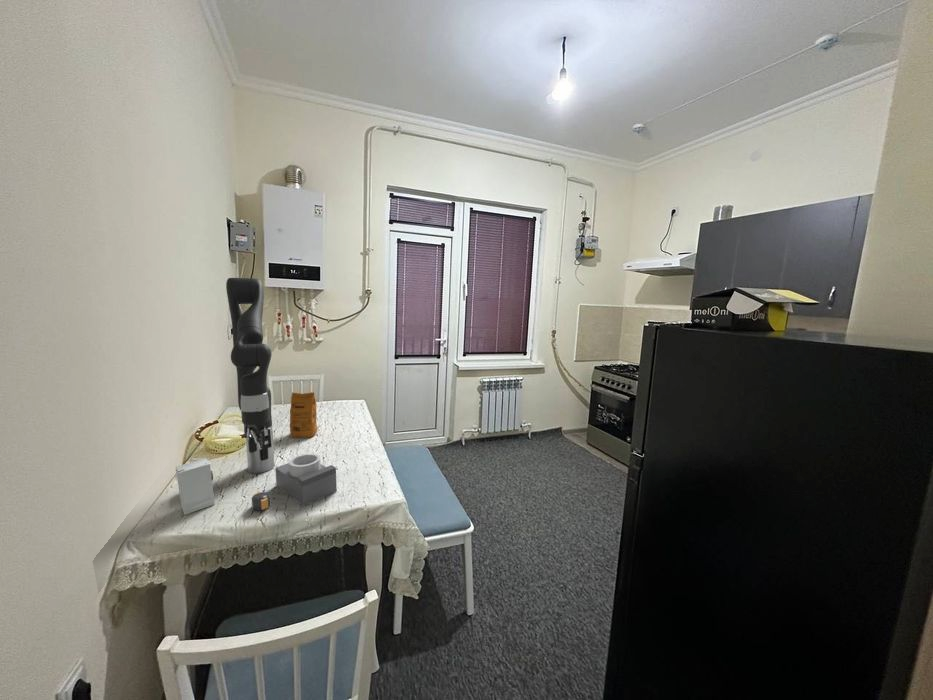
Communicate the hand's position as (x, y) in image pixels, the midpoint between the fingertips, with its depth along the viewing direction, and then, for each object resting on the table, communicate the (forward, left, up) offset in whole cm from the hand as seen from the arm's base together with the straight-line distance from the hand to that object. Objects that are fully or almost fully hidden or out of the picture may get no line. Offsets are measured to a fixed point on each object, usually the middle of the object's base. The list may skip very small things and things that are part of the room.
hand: (258, 455), depth 110 cm
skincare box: (-16, -13, -18) cm, 28 cm away
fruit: (-28, -9, -18) cm, 35 cm away
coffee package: (-49, +39, -18) cm, 65 cm away
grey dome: (0, 0, -18) cm, 18 cm away
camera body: (0, +15, -18) cm, 23 cm away
